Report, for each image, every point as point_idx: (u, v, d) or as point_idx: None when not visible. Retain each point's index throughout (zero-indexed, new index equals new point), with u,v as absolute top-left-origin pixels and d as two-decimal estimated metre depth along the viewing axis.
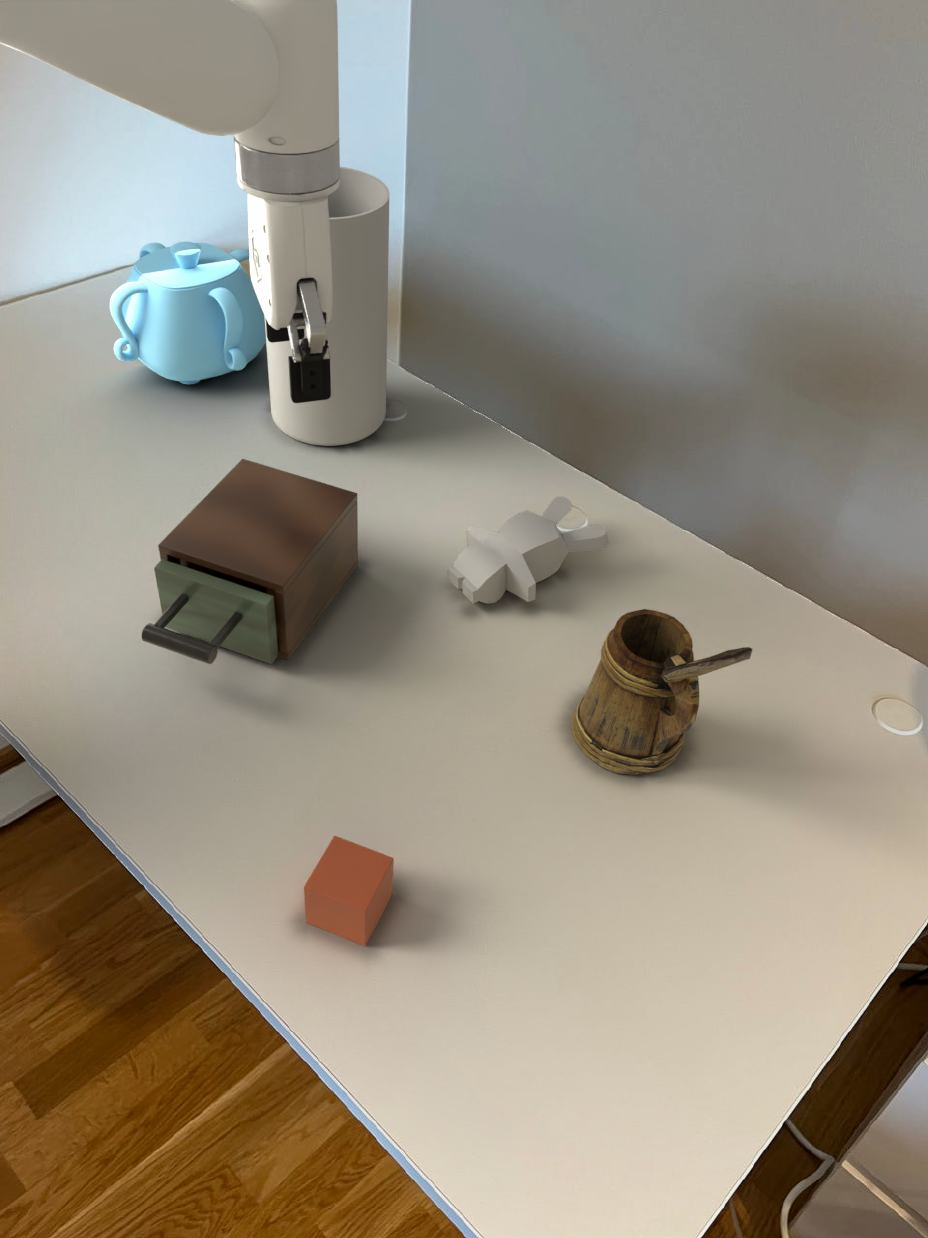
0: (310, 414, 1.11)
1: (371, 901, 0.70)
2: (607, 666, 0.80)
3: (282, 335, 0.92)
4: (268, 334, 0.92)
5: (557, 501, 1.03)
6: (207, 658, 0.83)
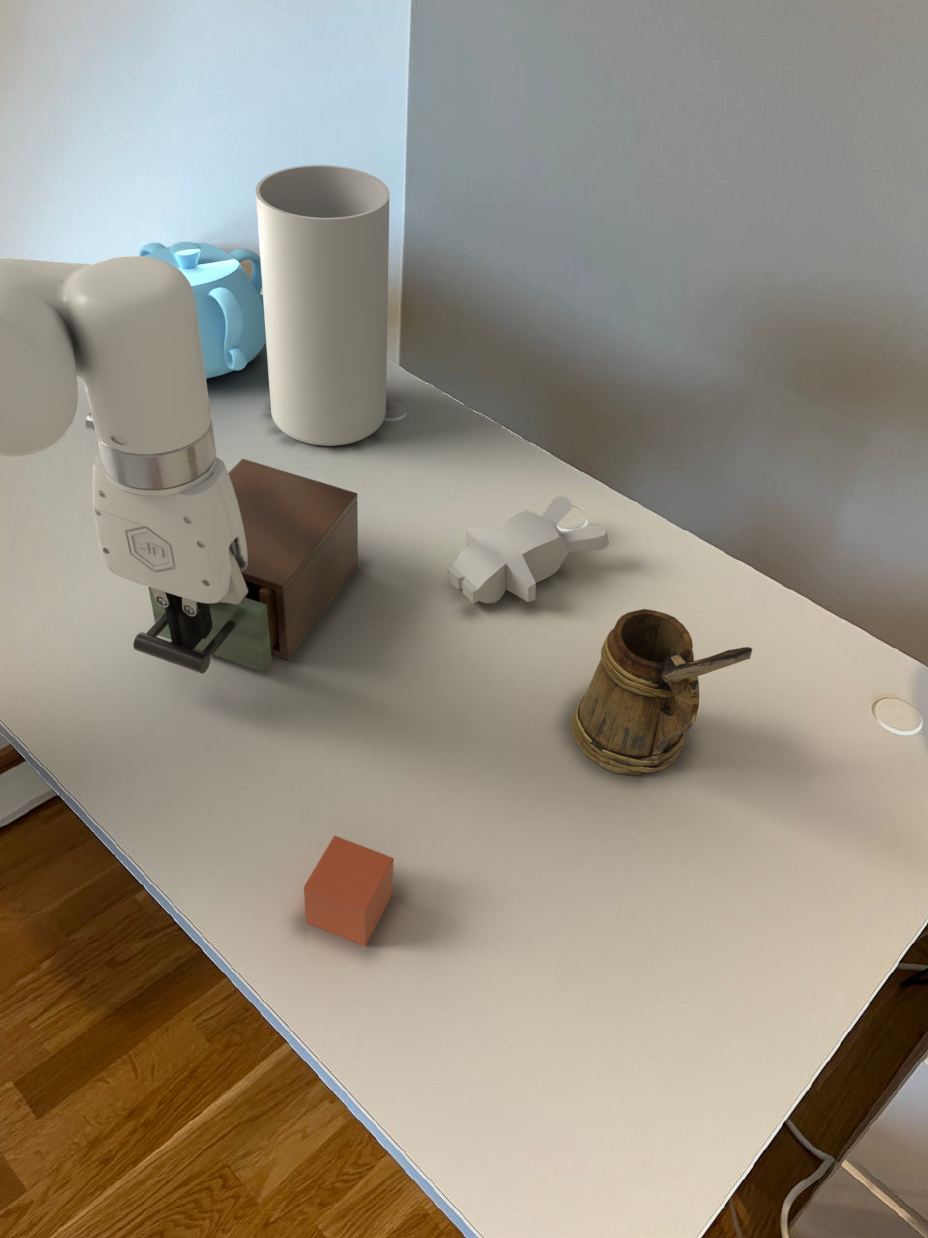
0: (310, 414, 1.11)
1: (371, 901, 0.70)
2: (607, 666, 0.80)
3: None
4: (178, 641, 0.83)
5: (557, 501, 1.03)
6: (199, 667, 0.82)
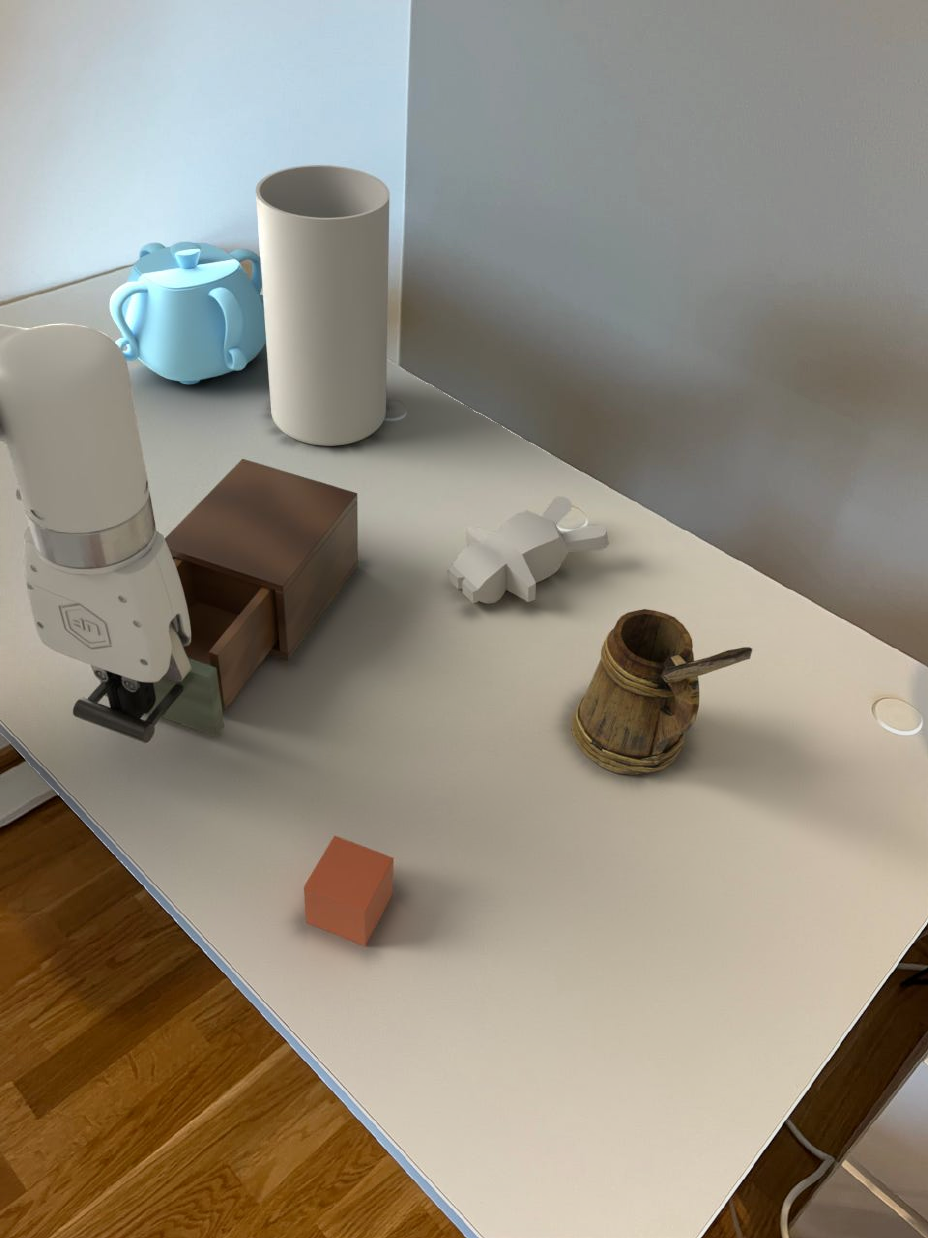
0: (310, 414, 1.11)
1: (371, 901, 0.70)
2: (607, 666, 0.80)
3: None
4: None
5: (557, 501, 1.03)
6: (142, 737, 0.77)
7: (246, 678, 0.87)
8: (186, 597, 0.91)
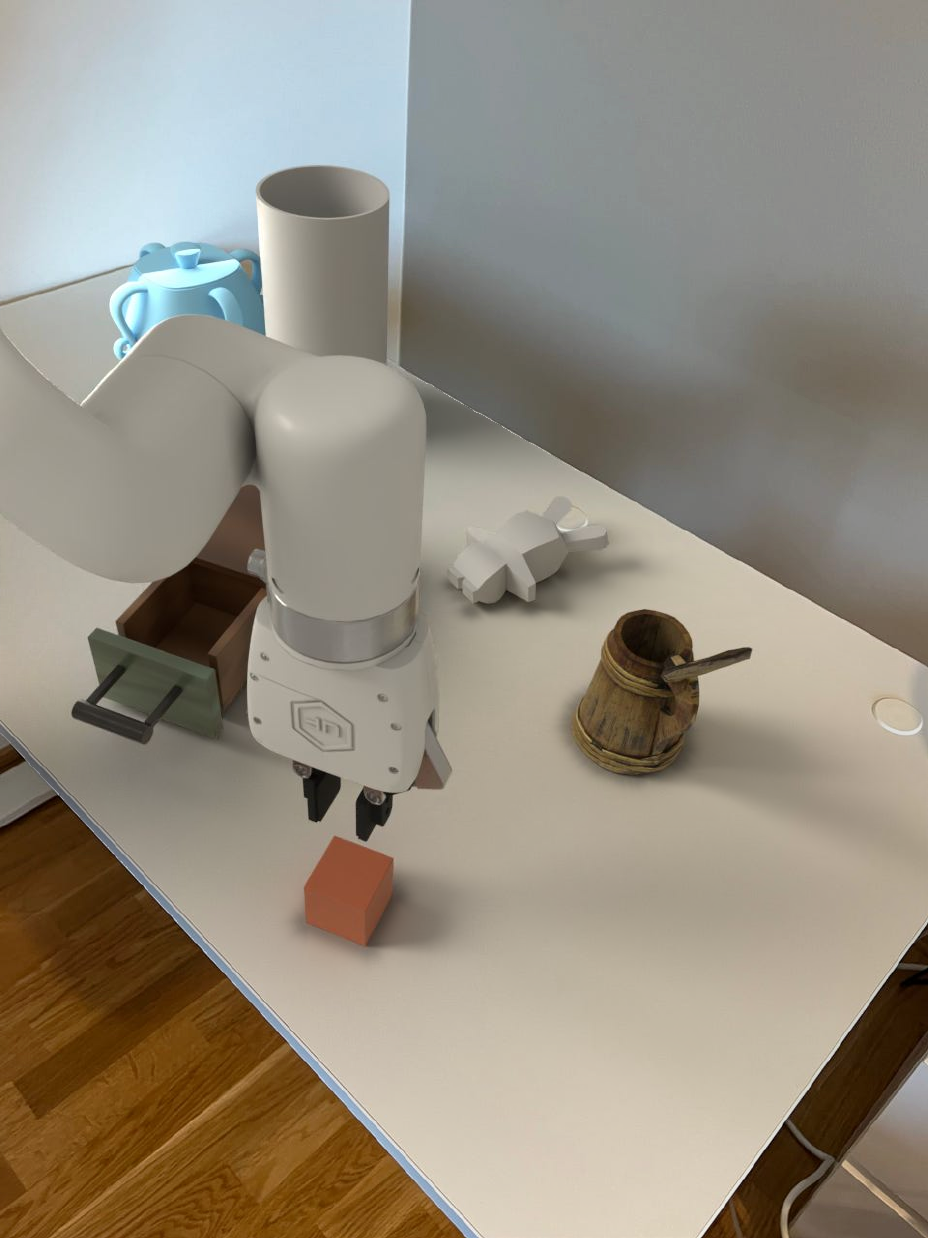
0: None
1: (371, 901, 0.70)
2: (607, 666, 0.80)
3: (327, 805, 0.66)
4: (316, 817, 0.65)
5: (557, 501, 1.03)
6: (141, 738, 0.77)
7: (245, 679, 0.87)
8: (185, 598, 0.90)
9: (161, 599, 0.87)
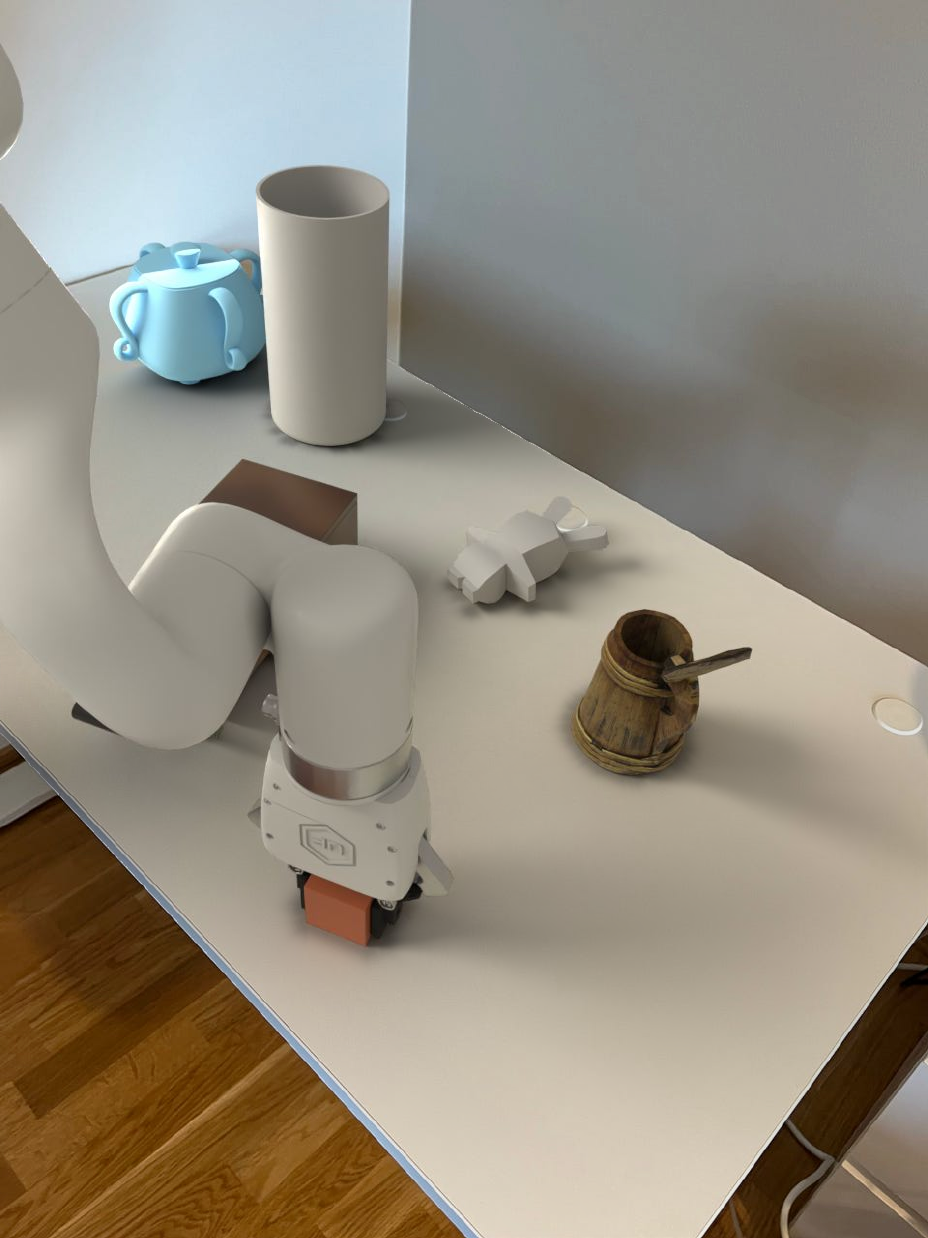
0: (310, 414, 1.11)
1: (371, 901, 0.70)
2: (607, 666, 0.80)
3: None
4: None
5: (557, 501, 1.03)
6: None
7: None
8: None
9: None
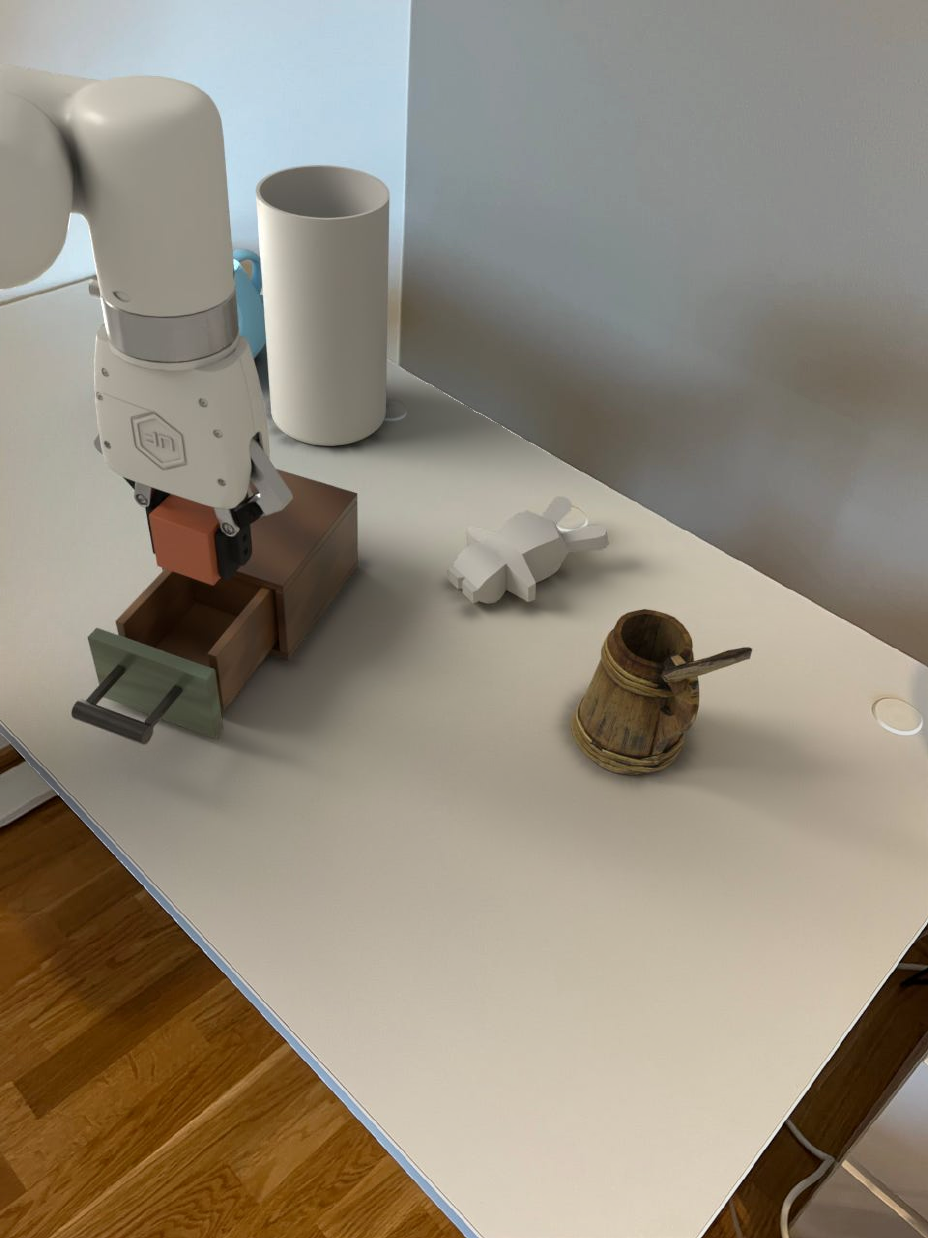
0: (310, 414, 1.11)
1: (215, 528, 0.70)
2: (607, 666, 0.80)
3: None
4: None
5: (557, 501, 1.03)
6: (141, 738, 0.77)
7: (245, 679, 0.87)
8: (185, 598, 0.90)
9: (161, 599, 0.87)
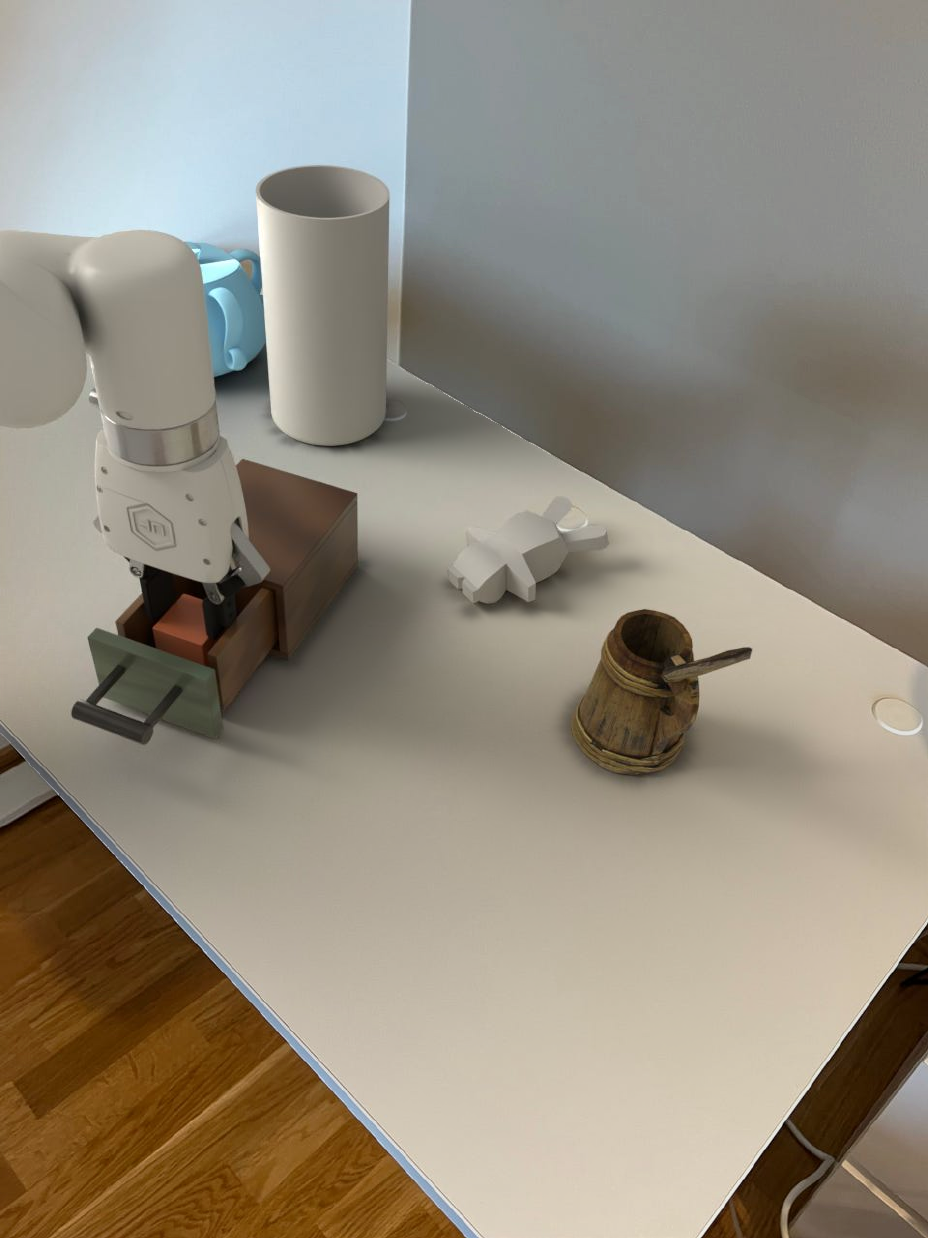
0: (310, 414, 1.11)
1: (208, 639, 0.83)
2: (607, 666, 0.80)
3: (162, 605, 0.84)
4: (152, 612, 0.83)
5: (557, 501, 1.03)
6: (140, 739, 0.77)
7: (245, 680, 0.87)
8: None
9: None
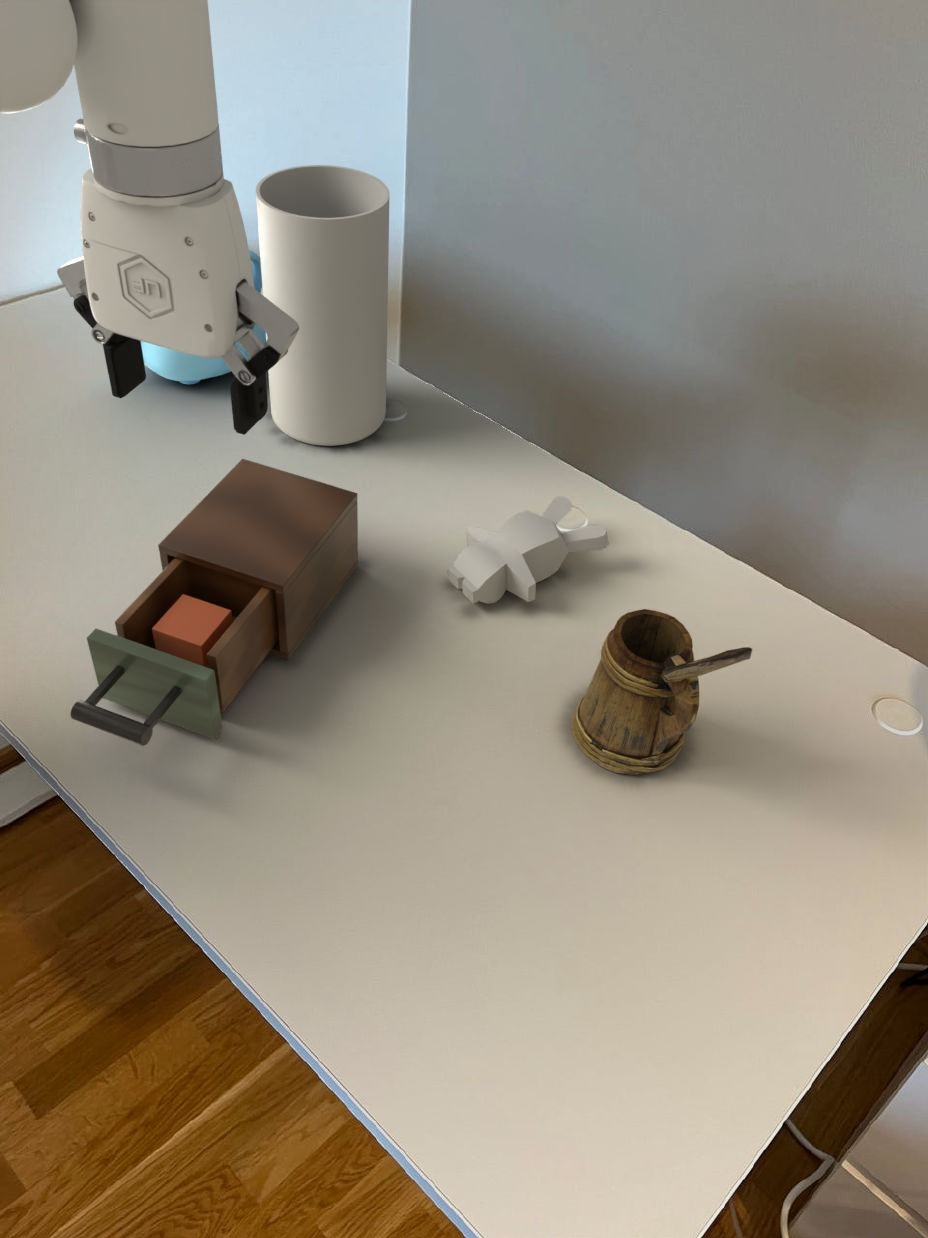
0: (310, 414, 1.11)
1: (208, 639, 0.83)
2: (607, 666, 0.80)
3: (130, 383, 0.75)
4: (118, 389, 0.74)
5: (557, 501, 1.03)
6: (140, 739, 0.77)
7: (244, 680, 0.87)
8: None
9: (161, 599, 0.87)
